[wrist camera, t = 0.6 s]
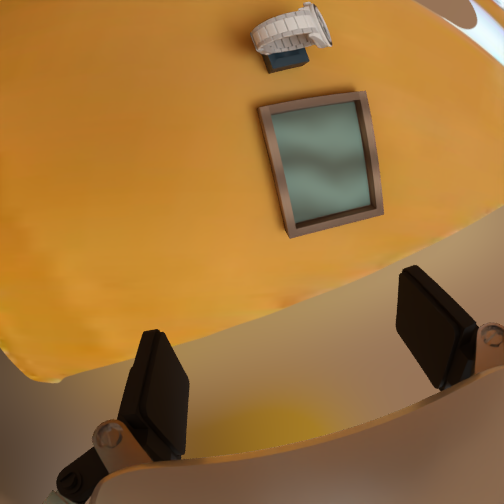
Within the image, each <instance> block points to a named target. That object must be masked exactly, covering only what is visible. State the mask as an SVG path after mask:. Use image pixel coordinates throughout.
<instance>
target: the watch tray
mask: <svg viewBox="0 0 504 504" xmlns="http://www.w3.org/2000/svg"><path fill="white" fill-rule="evenodd" d="M257 111H258V115H259V119H260V123H261V127H262V131H263V135H264V139H265V144H266V148H267V152H268V156H269V160H270V164H271V169H272V173H273V177H274V182H275V186H276V190H277V195H278V199H279V204H280V208H281V213H282V217H283V222H284V226H285V231H286V233H287V235H288V236H289V238H294V237H298V236H302V235H306V234H310V233H313V232H317V231H321V230H325V229H329V228H333V227H337V226H341V225H345V224H349V223H352V222H356V221H360V220H364V219H368V218H372V217H376V216H380V215H384V209H383V198H382V188H381V179H380V171H379V163H378V156H377V149H376V142H375V136H374V130H373V124H372V119H371V114H370V108H369V104H368V99H367V94H366V91H360V92H350V93H341V94H333V95H326V96H319V97H312V98H306V99H300V100H294V101H289V102H283V103H278V104H273V105H268V106H263V107H259V108H257Z"/></svg>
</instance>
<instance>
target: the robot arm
mask: <svg viewBox="0 0 504 504" xmlns="http://www.w3.org/2000/svg"><path fill="white" fill-rule="evenodd" d="M396 330H397V332H398V334H399V335H400V337H401V338H402V339H403V341H404V343H405V344H406V345H407V347H408V348H409V350H410V351H411V353H412V354H413V356H414V357H415V359H416V360H417V362H418V363H419V365H420V366H421V368H422V369H423V371H424V372H425V374H426V375H427V377H428V378H429V380H430V381H431V383H432V385H433V386H434V387H435V388H437V389H438V388H439V390H440V391H441V392H439V393H437V394H435V395H432V396H430V397H428V398H426V399H424V400H422V401H419V402H417V403H415V404H412V405H410V406H408V407H405V408H403V409H400V410H398V411H396V412H393V413H390V414H388V415H385V416H383V417H380V418H377V419H375V420H372V421H369V422H366V423H363V424H360V425H357V426H354V427H351V428H348V429H345V430H342V431H338V432H335V433H331V434H328V435H325V436H320V437H317V438H313V439H309V440H305V441H301V442H297V443H293V444H288V445H284V446H279V447H274V448H269V449H263V450H257V451H252V452H245V453H238V454H231V455H223V456H215V457H205V458H196V459H183V460H181V455H184V454H185V447H186V445H185V444H186V428H187V412H188V397H189V379H188V376H187V375H186V373H185V371H184V370H183V368H182V365H181V364H180V362H179V360H178V358H177V356H176V354H175V352H174V350H173V348H172V347H171V345H170V343H169V341H168V339H167V337H166V335H165V333H164V332H160V331H159V330H158V329H155V330H149V331H144V332H143V334H142V337H141V341H140V344H139V347H138V351H137V354H136V357H135V361H134V364H133V367H132V368H131V369H130V372H129V376H128V380H127V383H126V386H125V390H124V394H123V398H122V401H121V405H120V409H119V413H118V417H117V420H114V419H113V420H107V421H105V422H103V423H101V424H100V425H99V426H98V427H97V428H96V430H95V431H94V434H93V437H92V442H93V445H94V447H92V448H91V449H90V450H88V451H87V452H86V453H85V454H83V455H82V456H81V457H79V458H78V459H76V460H75V461H74V462H72V463H71V464H70V465H68V466H67V467H65V468H64V469H63V470H62V471H61V472H60V473H59V475H58V477H57V481H56V484H57V489H58V490H57V491H56V492H55V491H53V490H52V492H51V493H50V494H49V496H48V497H47V498H46V500H45V501H44V502H43V503H42V504H504V326H502V325H500V324H498V323H491V322H490V323H486V324H483V325H482V326H480V328H479V327H478V326H477V325H476V322H475V321H474V320H473V318H472V317H471V316H469V314H468V313H467V312H466V311H465V310H464V309H463V308H462V307H461V306H460V305H459V304H458V303H457V302H456V301H455V300H454V299H453V298H451V296H450V295H448V294H447V293H446V292H445V291H444V290H443V289H442V288H441V287H440V286H439V285H438V284H437V283H436V282H435V281H434V280H433V279H432V278H430V277H429V276H428V275H427V274H426V273H425V272H424V271H423V270H422V269H421V268H420V267H418V266H417V265H413V266H410V267H407V268H404V269H403V271H402V273H400V275H399V286H398V303H397V315H396Z"/></svg>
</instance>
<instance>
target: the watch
mask: <svg viewBox="0 0 504 504" xmlns="http://www.w3.org/2000/svg"><path fill="white" fill-rule="evenodd" d="M303 5H304V7H303V8H300V9H298V10H299V11H296V12H290V13H286V14H282V15H279V16H276V17H273V18H271V19H268V20H266V21H265V22H263V23H261V24H259V25H258V26H256V27H255V28H254V29H253V30H252V32H251V33H250V35H251V38H252V40H253V43H254V46H255V48H256V51H257V52H259V53H261V54H262V56H263V59H264V61H265V64H266V67H267V70H268V72H269V74H270V73H274V72H278V71H282V70H286V69H290V68H295V67H299V66H303V65H304V64H306V63H307V62H309V58H308V55H307V53H306V50H305V47H308V46H312V45H316V46H317V47H318V48H324V47H328V46H329V47H331V46H332V41H331V37H330V34H329V31H328V28H327V26H326V23H325V21H324V19H323V17H322V15H321V13H320V12H319V10H318V8H317V7H316V6H315V5H314V4H311V2H305V3H303ZM275 18H276V19H275ZM304 46H305V47H304Z"/></svg>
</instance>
